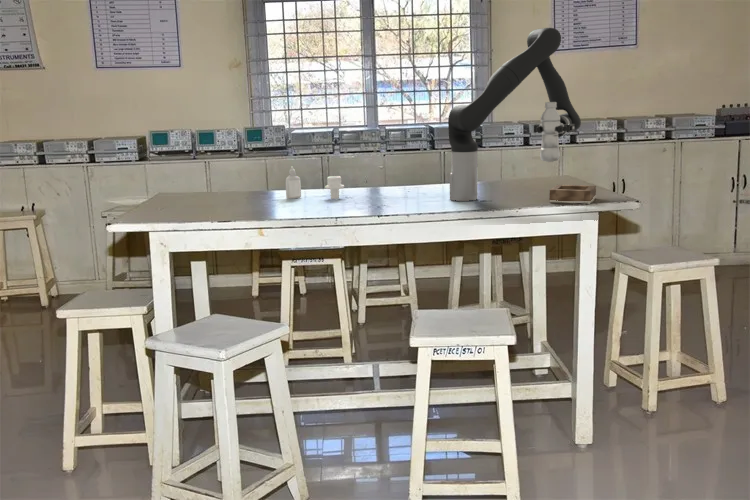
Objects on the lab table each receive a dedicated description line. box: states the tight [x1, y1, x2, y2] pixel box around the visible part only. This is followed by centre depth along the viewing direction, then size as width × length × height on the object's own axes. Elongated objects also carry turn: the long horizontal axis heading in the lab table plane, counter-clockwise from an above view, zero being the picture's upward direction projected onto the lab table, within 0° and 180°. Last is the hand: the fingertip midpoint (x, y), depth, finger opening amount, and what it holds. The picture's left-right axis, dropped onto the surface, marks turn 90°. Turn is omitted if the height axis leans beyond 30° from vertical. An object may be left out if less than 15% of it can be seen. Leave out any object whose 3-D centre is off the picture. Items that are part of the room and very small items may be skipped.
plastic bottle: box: [539, 101, 561, 163], centre depth 251 cm, size 6×7×20 cm
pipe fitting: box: [324, 175, 345, 200], centre depth 277 cm, size 6×7×8 cm
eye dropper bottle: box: [285, 165, 302, 200], centre depth 280 cm, size 4×6×12 cm
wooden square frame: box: [549, 184, 597, 201], centre depth 256 cm, size 14×14×4 cm
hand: (549, 129), depth 248 cm, fingers closed on plastic bottle, 6 cm apart
